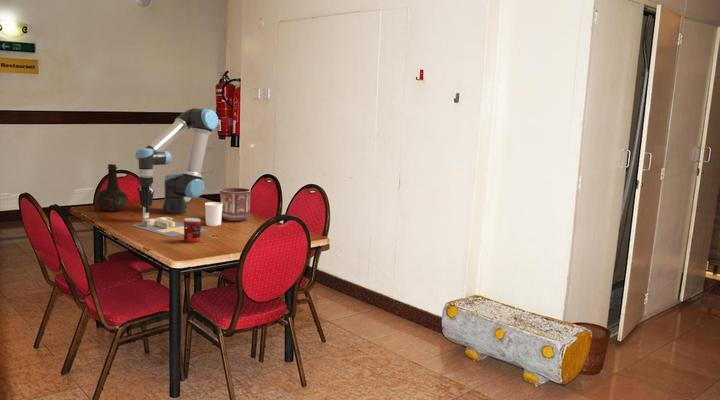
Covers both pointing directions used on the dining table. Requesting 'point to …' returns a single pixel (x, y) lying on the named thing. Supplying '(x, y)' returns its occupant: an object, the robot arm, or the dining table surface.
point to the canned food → (192, 230)
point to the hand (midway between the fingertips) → (146, 218)
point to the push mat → (167, 232)
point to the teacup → (187, 199)
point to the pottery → (235, 203)
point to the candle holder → (213, 213)
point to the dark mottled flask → (112, 193)
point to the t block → (159, 222)
